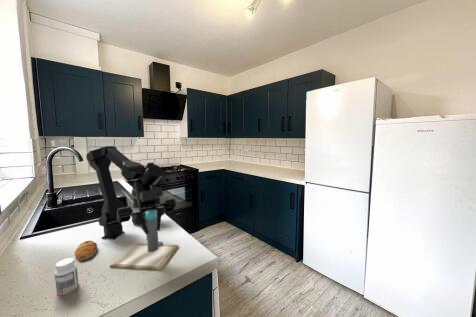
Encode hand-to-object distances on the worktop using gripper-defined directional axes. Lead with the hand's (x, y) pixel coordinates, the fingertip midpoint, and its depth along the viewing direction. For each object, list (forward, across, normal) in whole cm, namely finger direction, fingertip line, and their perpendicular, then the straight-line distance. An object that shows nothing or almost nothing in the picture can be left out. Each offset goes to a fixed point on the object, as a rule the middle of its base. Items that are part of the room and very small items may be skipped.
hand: (152, 232), depth 64 cm
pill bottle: (+6, -23, +12) cm, 26 cm away
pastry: (-8, -19, +25) cm, 33 cm away
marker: (+4, 0, +6) cm, 7 cm away
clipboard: (+3, -1, +14) cm, 14 cm away
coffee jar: (-20, +4, +38) cm, 43 cm away
